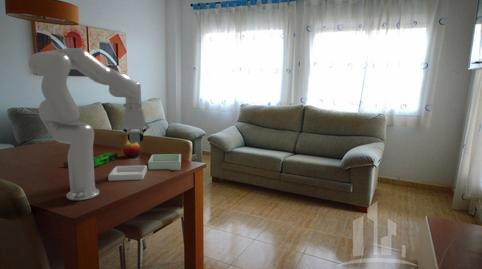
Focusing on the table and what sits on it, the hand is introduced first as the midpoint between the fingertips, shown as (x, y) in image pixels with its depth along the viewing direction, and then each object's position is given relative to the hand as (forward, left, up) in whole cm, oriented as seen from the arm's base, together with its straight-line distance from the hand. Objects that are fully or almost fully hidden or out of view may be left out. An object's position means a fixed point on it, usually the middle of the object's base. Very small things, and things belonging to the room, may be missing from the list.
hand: (135, 141), depth 160 cm
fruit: (+39, +9, -18) cm, 44 cm away
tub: (-4, +3, -18) cm, 19 cm away
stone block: (0, 0, 0) cm, 0 cm away
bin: (+14, -14, -18) cm, 27 cm away
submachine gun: (+26, +33, -19) cm, 46 cm away
